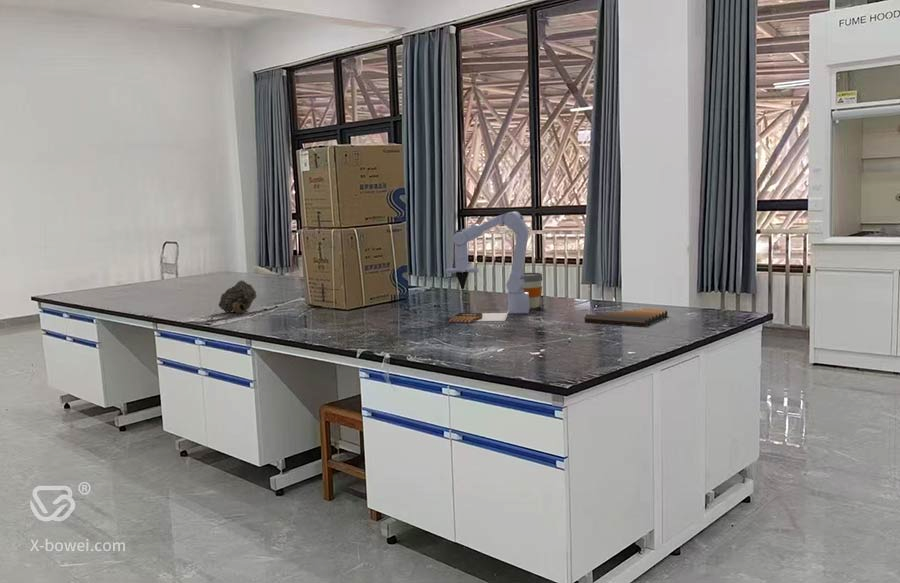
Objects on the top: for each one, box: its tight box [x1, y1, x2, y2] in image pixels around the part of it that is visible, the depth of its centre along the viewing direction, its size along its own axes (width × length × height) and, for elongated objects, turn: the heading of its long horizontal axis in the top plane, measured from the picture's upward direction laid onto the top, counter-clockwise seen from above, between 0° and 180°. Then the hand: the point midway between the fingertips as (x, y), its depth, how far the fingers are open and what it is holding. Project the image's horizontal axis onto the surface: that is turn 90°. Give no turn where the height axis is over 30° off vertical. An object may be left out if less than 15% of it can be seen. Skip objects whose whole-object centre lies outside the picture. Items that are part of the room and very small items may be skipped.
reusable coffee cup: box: [523, 272, 543, 309], centre depth 339 cm, size 13×13×15 cm
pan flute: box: [583, 308, 668, 327], centre depth 299 cm, size 25×3×25 cm
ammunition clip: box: [448, 312, 483, 323], centre depth 310 cm, size 11×2×12 cm
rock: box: [218, 279, 257, 315], centre depth 360 cm, size 18×14×15 cm
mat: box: [474, 312, 509, 323], centre depth 315 cm, size 12×18×1 cm
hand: (462, 288), depth 332 cm, fingers closed
